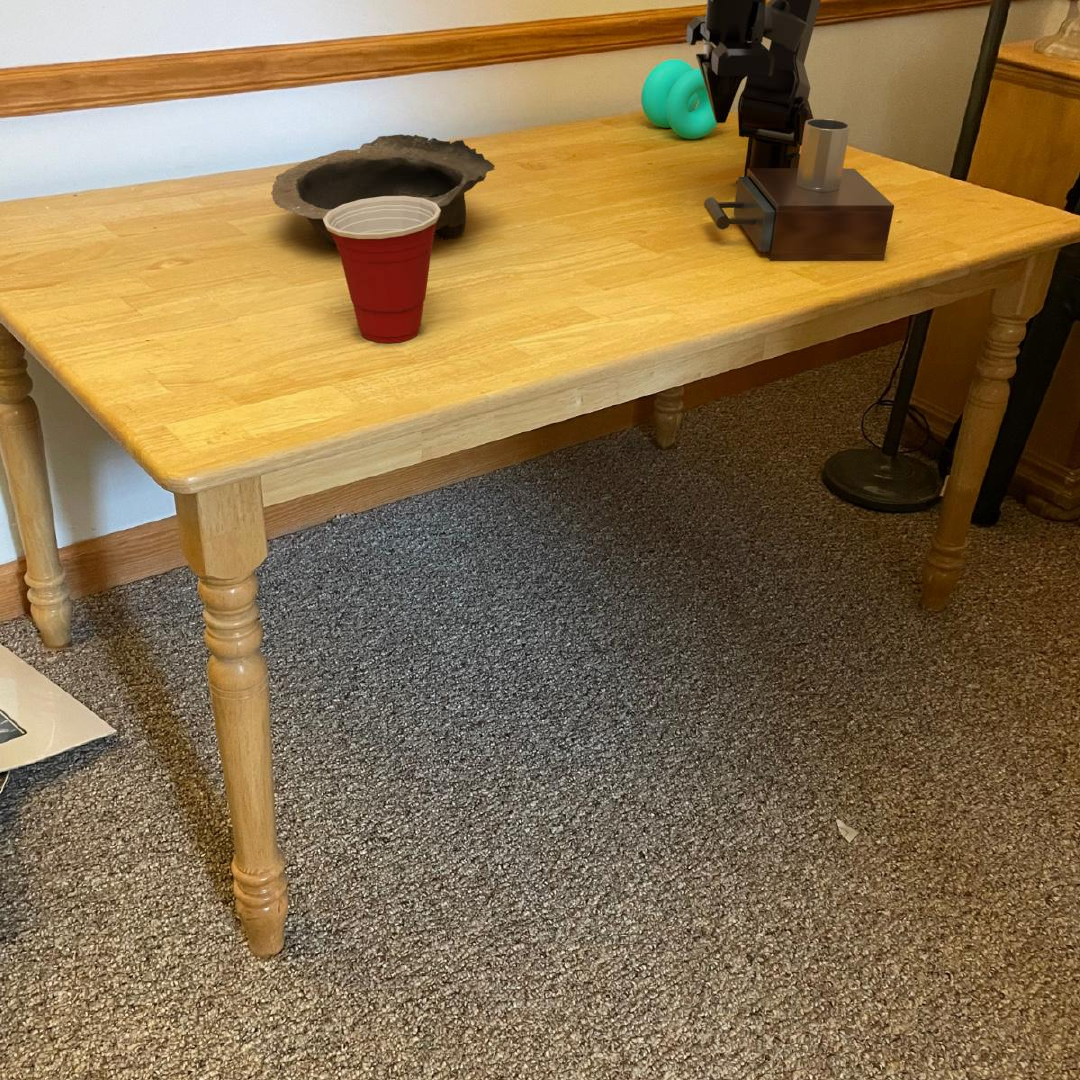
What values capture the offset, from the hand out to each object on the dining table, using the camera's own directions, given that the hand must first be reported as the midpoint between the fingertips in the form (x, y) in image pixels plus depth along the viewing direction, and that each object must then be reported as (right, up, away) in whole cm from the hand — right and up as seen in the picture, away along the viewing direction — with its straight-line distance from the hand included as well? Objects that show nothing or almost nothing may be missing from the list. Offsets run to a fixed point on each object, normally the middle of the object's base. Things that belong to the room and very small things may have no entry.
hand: (720, 122), depth 140 cm
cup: (+11, -8, -2) cm, 14 cm away
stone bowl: (-40, -14, -2) cm, 42 cm away
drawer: (+7, -13, 0) cm, 15 cm away
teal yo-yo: (0, +13, +40) cm, 42 cm away
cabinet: (+11, -14, +1) cm, 17 cm away
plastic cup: (-36, -30, -25) cm, 53 cm away
